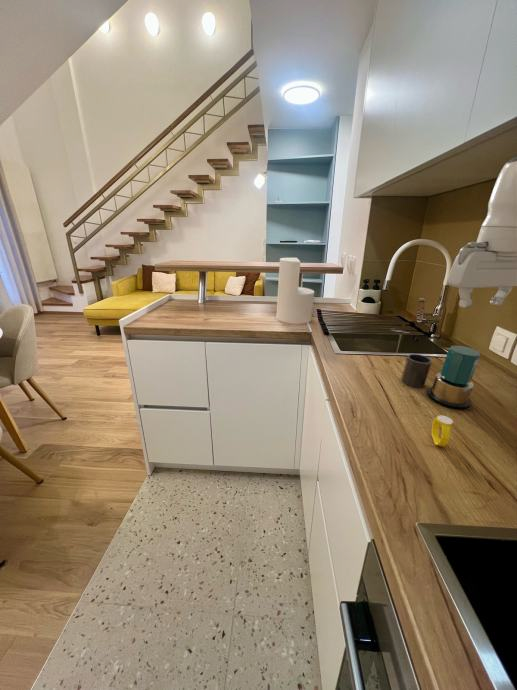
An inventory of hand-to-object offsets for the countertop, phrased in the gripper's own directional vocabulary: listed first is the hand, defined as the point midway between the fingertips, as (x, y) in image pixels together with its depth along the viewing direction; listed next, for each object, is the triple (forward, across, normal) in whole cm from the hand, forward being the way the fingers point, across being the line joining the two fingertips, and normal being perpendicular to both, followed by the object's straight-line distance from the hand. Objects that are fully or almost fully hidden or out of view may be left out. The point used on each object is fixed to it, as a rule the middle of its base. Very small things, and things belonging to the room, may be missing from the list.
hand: (479, 305), depth 64 cm
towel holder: (+26, +1, +1) cm, 26 cm away
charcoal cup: (+26, -2, +10) cm, 28 cm away
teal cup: (+20, +1, +1) cm, 20 cm away
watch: (+26, -16, -12) cm, 33 cm away
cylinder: (+26, -14, +76) cm, 82 cm away
